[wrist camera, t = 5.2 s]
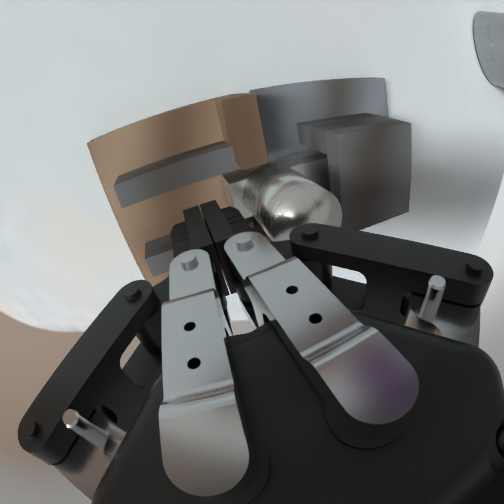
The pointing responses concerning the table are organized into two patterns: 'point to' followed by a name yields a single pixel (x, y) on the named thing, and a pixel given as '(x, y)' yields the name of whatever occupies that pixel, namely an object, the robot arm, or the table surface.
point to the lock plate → (252, 157)
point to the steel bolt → (285, 193)
